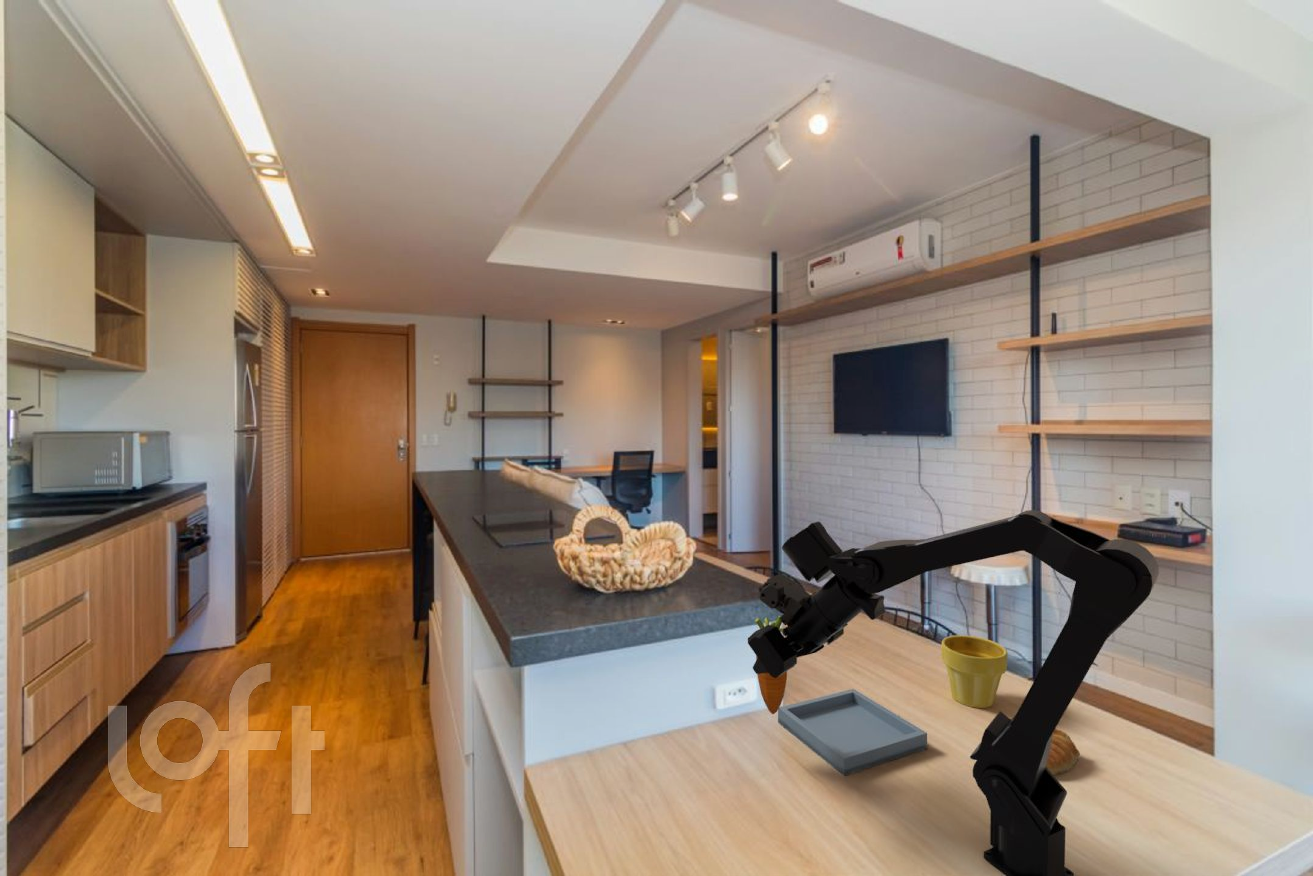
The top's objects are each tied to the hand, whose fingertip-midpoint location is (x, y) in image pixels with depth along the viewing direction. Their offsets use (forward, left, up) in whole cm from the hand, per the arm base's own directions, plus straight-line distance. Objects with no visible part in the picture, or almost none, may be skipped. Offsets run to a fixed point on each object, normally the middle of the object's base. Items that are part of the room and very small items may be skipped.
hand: (764, 665), depth 91 cm
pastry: (-20, -36, -14) cm, 44 cm away
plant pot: (-2, -42, -13) cm, 45 cm away
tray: (-2, -14, -13) cm, 20 cm away
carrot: (-1, -1, -7) cm, 7 cm away
